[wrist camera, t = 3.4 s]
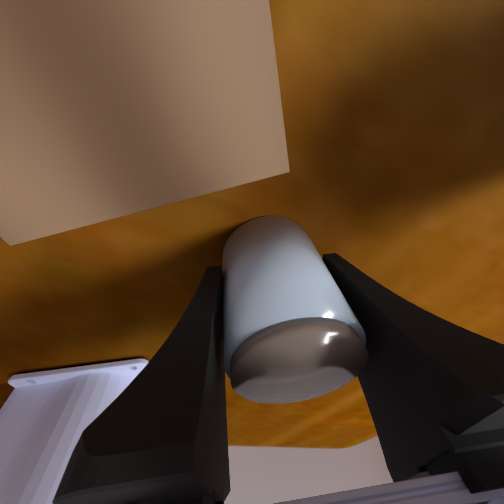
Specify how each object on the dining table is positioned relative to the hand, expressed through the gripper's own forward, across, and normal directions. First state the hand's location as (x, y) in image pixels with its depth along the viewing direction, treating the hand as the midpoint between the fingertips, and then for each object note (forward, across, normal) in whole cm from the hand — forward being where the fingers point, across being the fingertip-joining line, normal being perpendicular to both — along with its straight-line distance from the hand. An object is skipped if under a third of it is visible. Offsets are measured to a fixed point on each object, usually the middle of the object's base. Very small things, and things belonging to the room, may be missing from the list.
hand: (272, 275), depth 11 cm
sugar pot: (+2, 0, 0) cm, 2 cm away
